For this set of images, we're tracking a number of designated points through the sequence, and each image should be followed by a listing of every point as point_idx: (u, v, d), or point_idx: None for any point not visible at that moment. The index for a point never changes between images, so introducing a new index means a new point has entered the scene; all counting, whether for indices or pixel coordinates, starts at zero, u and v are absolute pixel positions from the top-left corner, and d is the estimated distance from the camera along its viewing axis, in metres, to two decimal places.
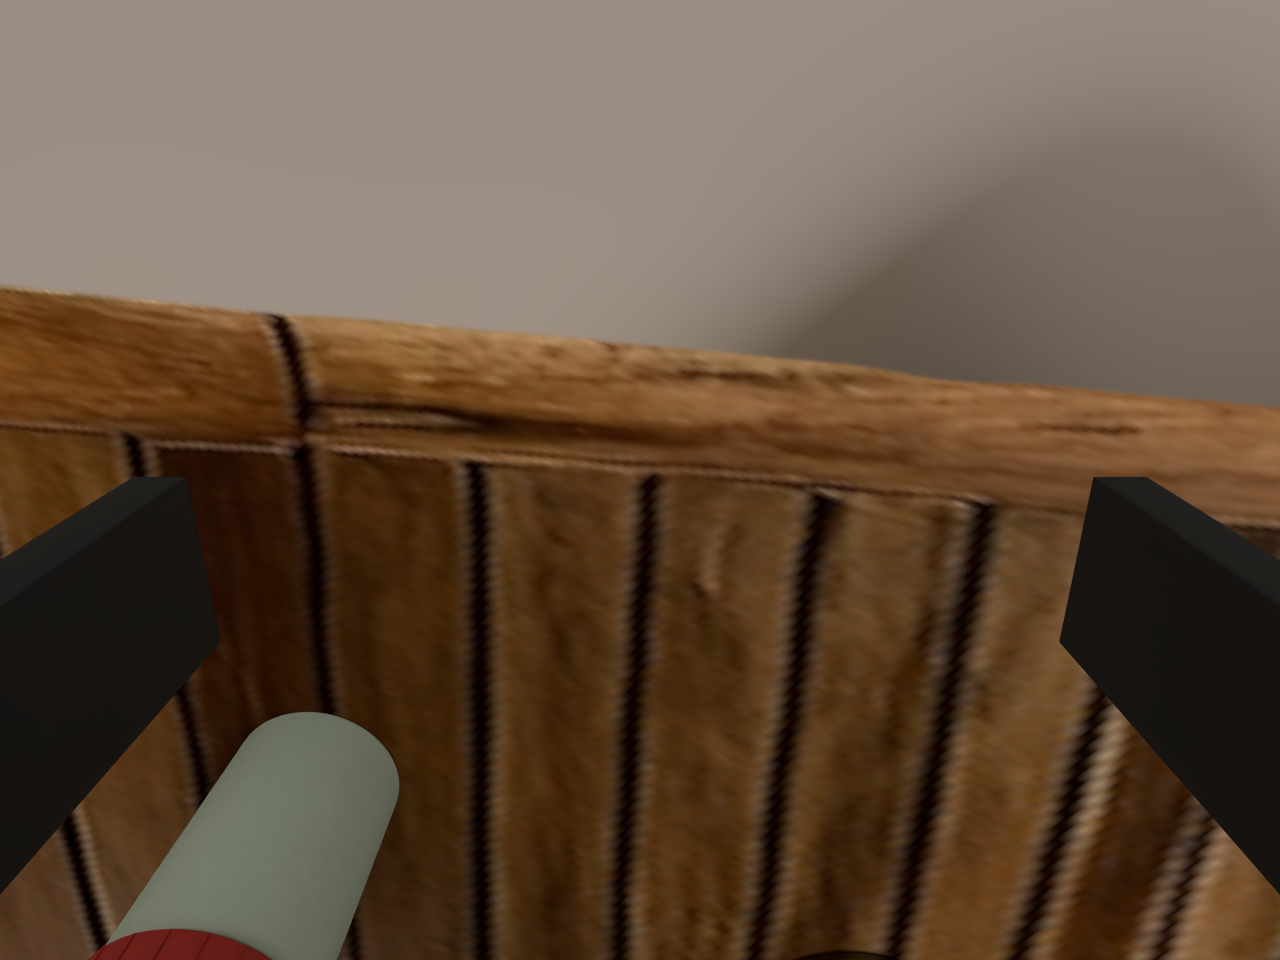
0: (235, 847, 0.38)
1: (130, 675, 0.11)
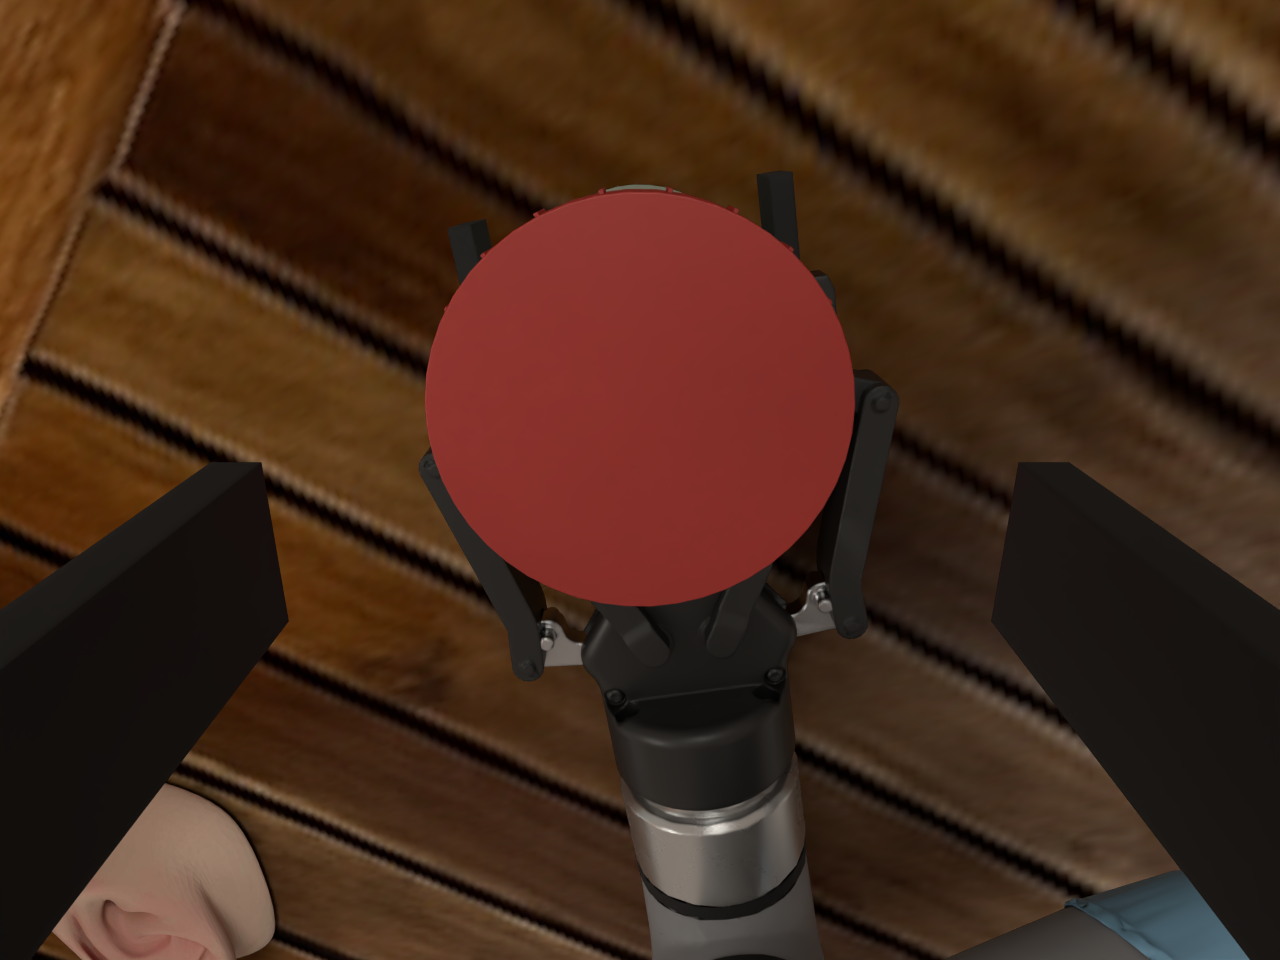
0: None
1: (217, 648, 0.11)
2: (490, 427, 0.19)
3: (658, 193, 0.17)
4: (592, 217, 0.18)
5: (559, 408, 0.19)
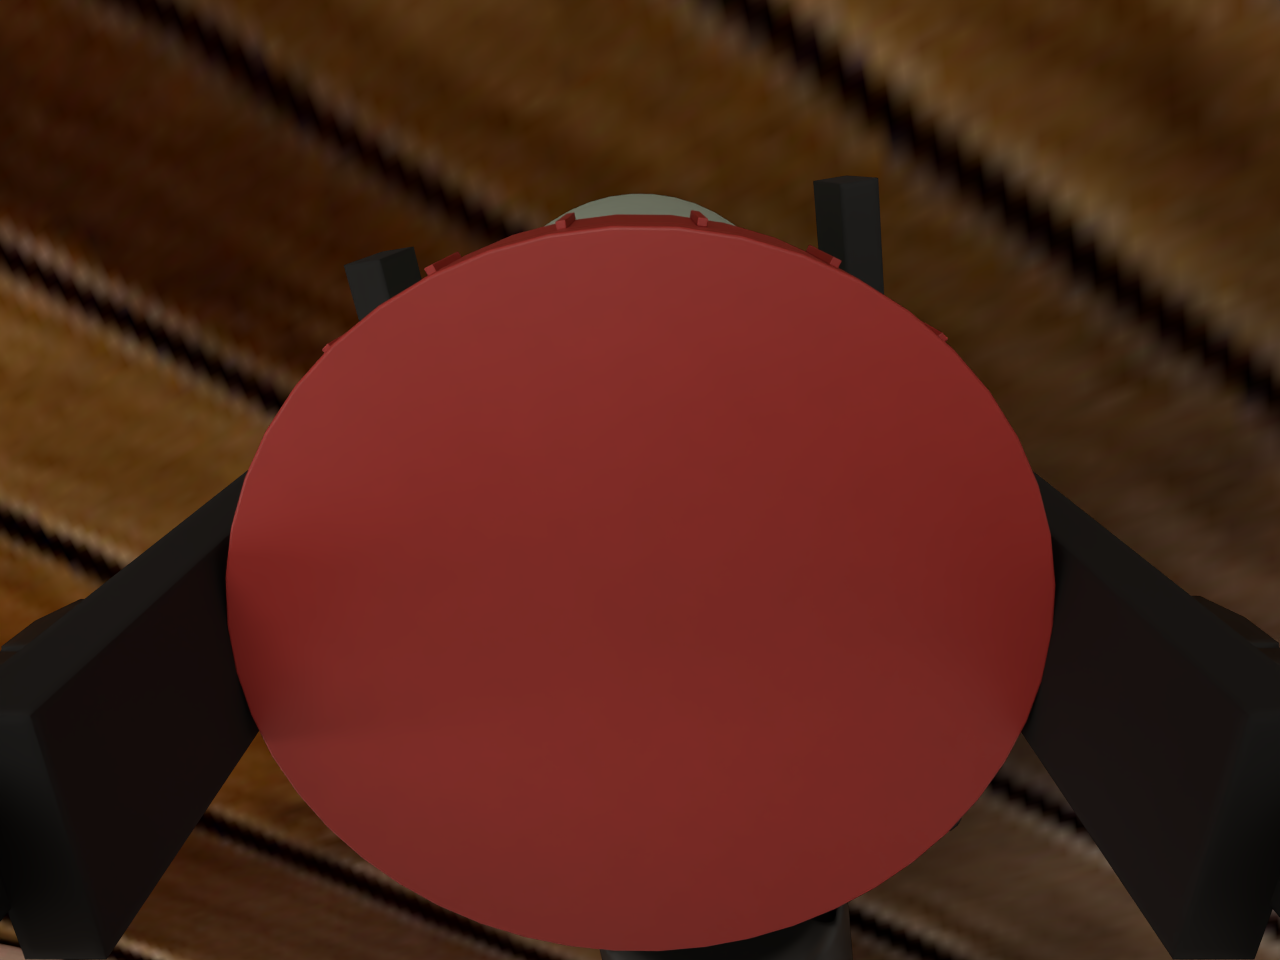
0: None
1: None
2: (355, 666, 0.10)
3: (679, 229, 0.08)
4: (541, 278, 0.08)
5: (485, 635, 0.10)
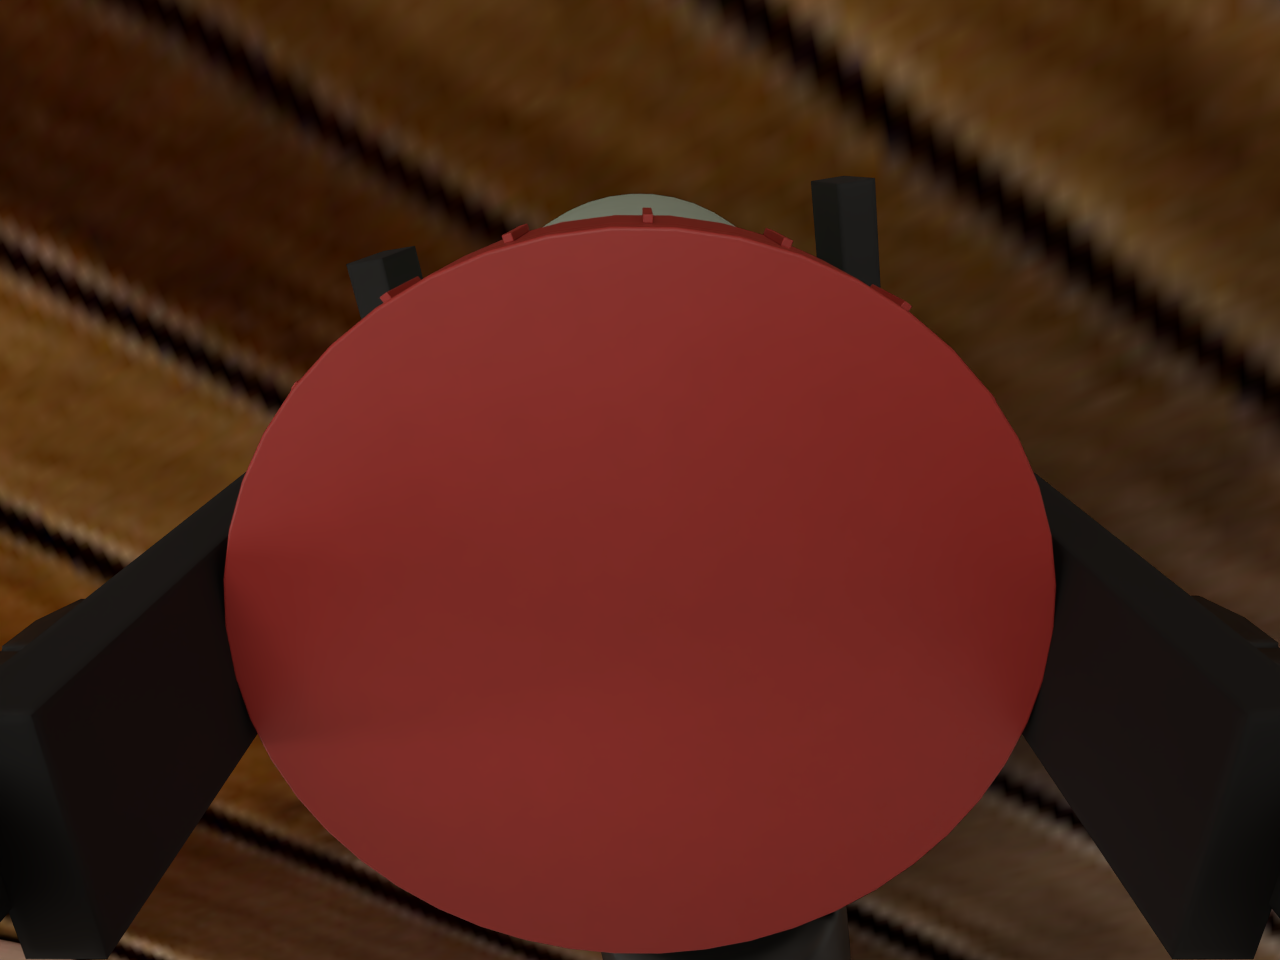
0: None
1: None
2: (588, 871, 0.11)
3: (231, 529, 0.09)
4: (260, 643, 0.10)
5: (584, 771, 0.11)
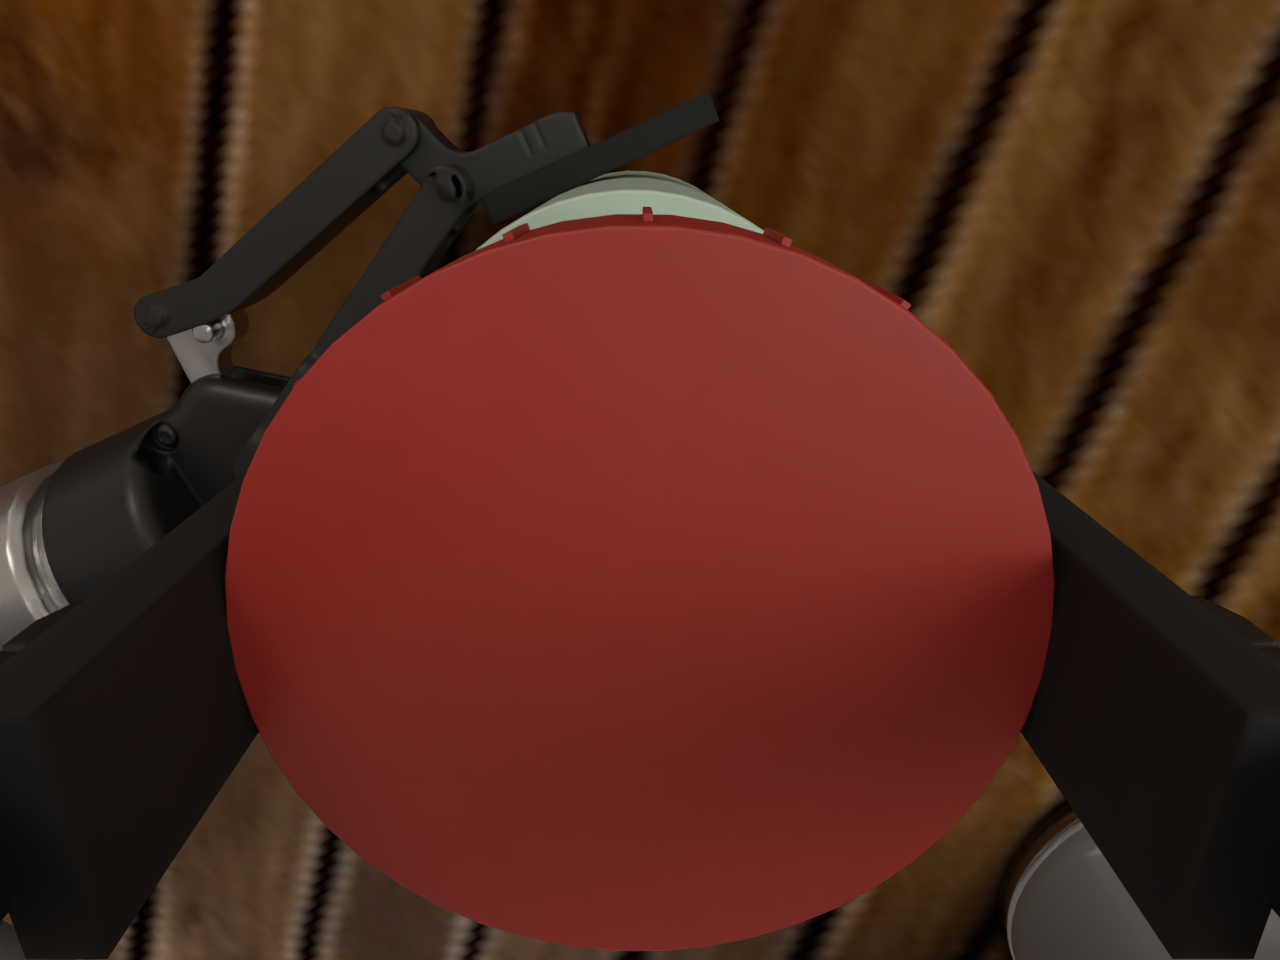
0: (700, 194, 0.20)
1: None
2: (588, 868, 0.11)
3: (232, 527, 0.10)
4: (261, 640, 0.10)
5: (584, 768, 0.11)
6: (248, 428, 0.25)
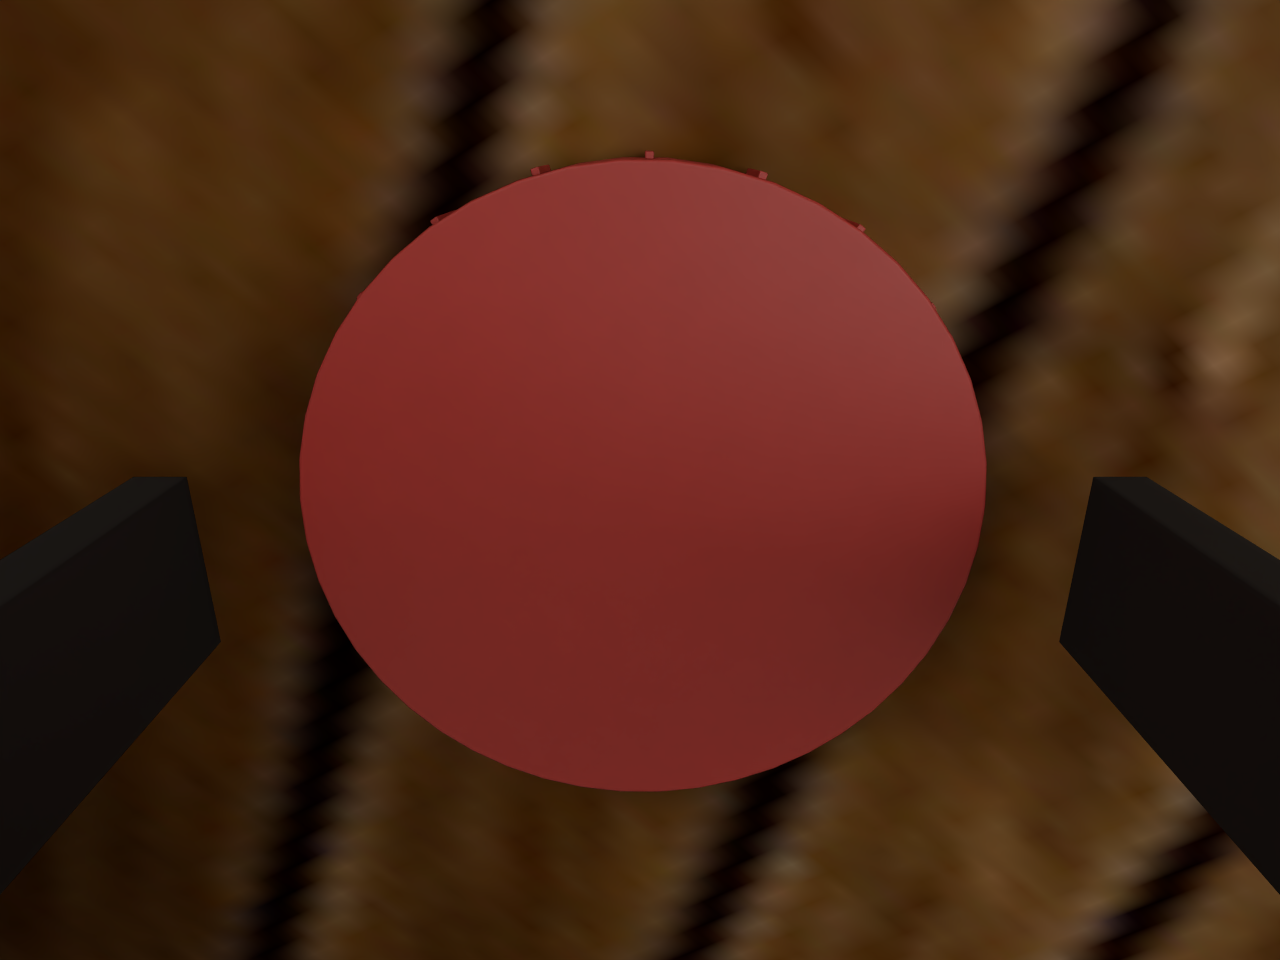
0: None
1: (130, 675, 0.11)
2: (599, 716, 0.13)
3: (307, 415, 0.12)
4: (328, 513, 0.12)
5: (596, 626, 0.13)
6: None
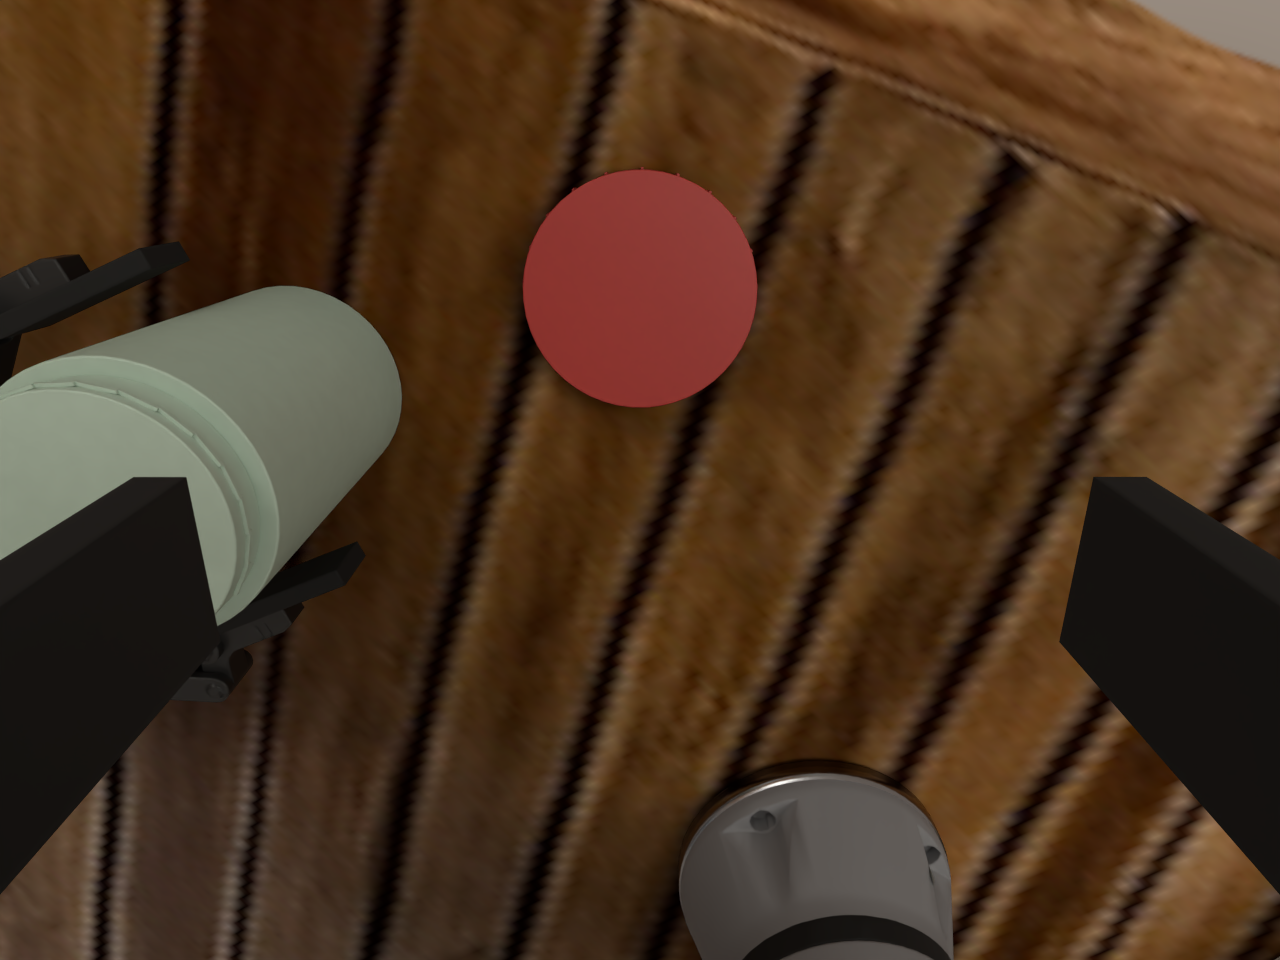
0: (217, 336, 0.28)
1: (130, 675, 0.11)
2: (624, 373, 0.36)
3: (528, 254, 0.35)
4: (532, 290, 0.35)
5: (623, 335, 0.36)
6: None
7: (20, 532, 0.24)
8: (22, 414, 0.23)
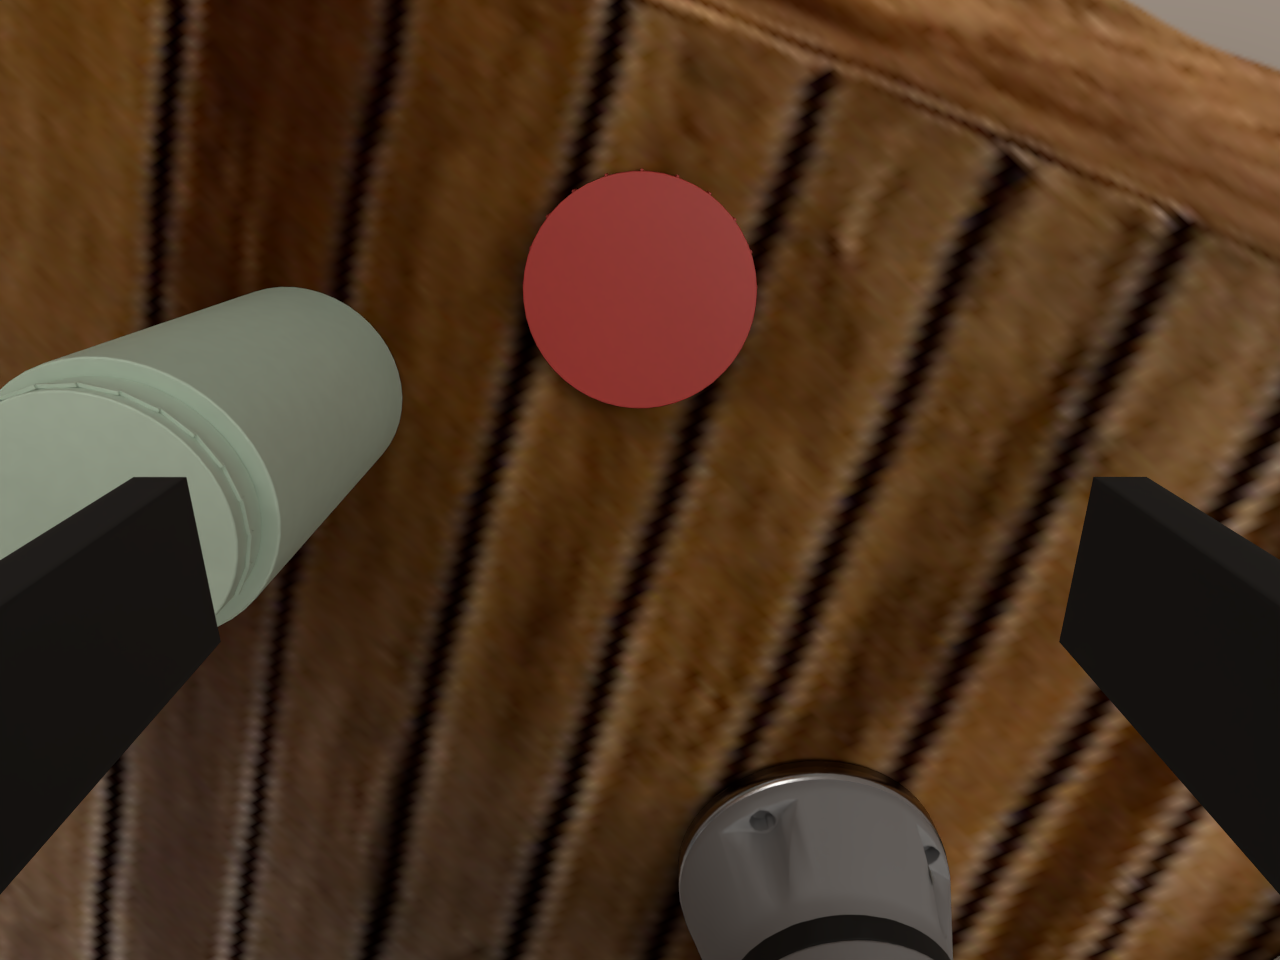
0: (218, 337, 0.28)
1: (130, 675, 0.11)
2: (624, 374, 0.37)
3: (528, 255, 0.35)
4: (532, 291, 0.35)
5: (623, 336, 0.36)
6: None
7: (22, 532, 0.24)
8: (24, 415, 0.23)
